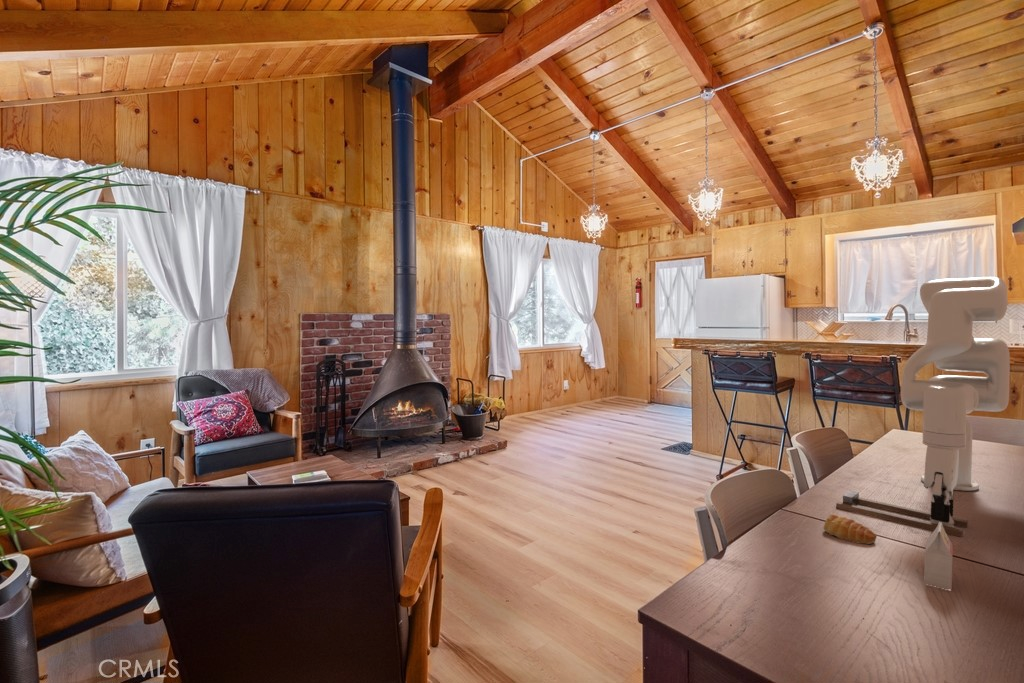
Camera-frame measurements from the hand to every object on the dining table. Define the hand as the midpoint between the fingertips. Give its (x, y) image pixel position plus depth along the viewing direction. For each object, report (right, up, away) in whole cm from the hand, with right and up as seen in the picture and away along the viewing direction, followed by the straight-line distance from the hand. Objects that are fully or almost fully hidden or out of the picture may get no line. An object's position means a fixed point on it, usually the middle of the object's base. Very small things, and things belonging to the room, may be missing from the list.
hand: (941, 517), depth 116 cm
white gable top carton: (-21, -3, -24) cm, 32 cm away
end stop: (-12, -2, +14) cm, 18 cm away
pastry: (-25, -3, -4) cm, 25 cm away
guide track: (-5, -2, +6) cm, 8 cm away
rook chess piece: (0, -2, 0) cm, 2 cm away
